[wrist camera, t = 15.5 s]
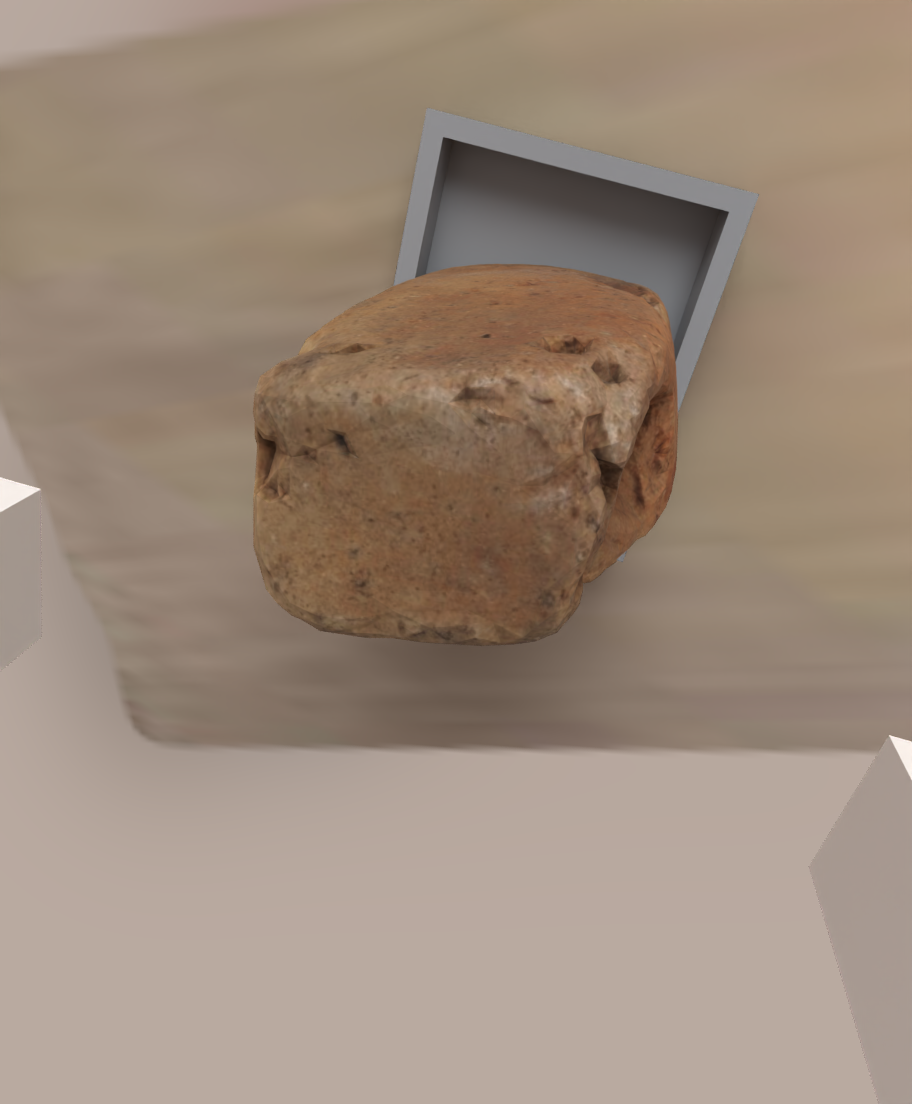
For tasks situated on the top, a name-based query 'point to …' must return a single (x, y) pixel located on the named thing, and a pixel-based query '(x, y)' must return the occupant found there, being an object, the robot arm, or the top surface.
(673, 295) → the tray
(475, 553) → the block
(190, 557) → the top surface
